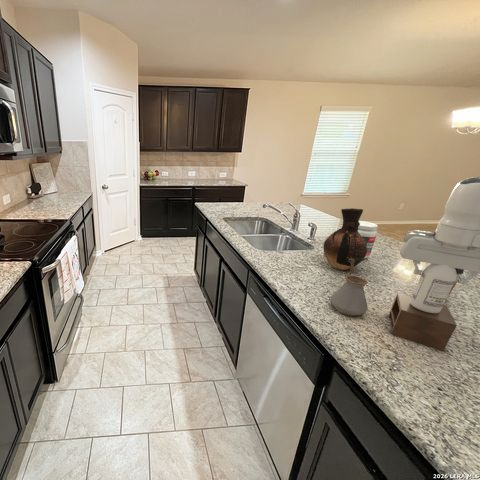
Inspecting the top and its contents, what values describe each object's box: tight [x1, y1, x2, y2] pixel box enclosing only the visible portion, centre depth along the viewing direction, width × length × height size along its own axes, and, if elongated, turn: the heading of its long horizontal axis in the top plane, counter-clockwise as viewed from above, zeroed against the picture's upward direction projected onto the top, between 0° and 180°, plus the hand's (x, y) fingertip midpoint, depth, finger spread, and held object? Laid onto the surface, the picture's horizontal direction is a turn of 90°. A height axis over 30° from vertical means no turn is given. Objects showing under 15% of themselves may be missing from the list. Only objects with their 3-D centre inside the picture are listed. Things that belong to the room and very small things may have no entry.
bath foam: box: [410, 263, 457, 313], centre depth 77 cm, size 7×7×20 cm
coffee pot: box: [329, 259, 369, 317], centre depth 96 cm, size 21×12×15 cm, turn 150°
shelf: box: [387, 292, 458, 352], centre depth 82 cm, size 12×12×10 cm
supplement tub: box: [358, 220, 379, 260], centre depth 138 cm, size 13×13×18 cm
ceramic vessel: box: [323, 207, 367, 271], centre depth 122 cm, size 21×18×30 cm
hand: (438, 278), depth 76 cm, fingers open, 8 cm apart
